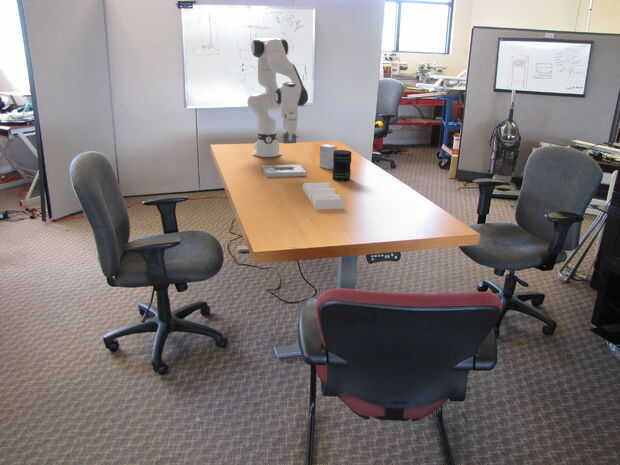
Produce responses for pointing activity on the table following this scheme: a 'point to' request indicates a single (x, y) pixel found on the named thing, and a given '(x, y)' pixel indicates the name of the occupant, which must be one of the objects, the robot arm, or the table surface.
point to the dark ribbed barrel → (341, 165)
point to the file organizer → (323, 196)
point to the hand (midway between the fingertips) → (289, 139)
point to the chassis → (283, 170)
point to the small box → (327, 156)
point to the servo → (285, 138)
